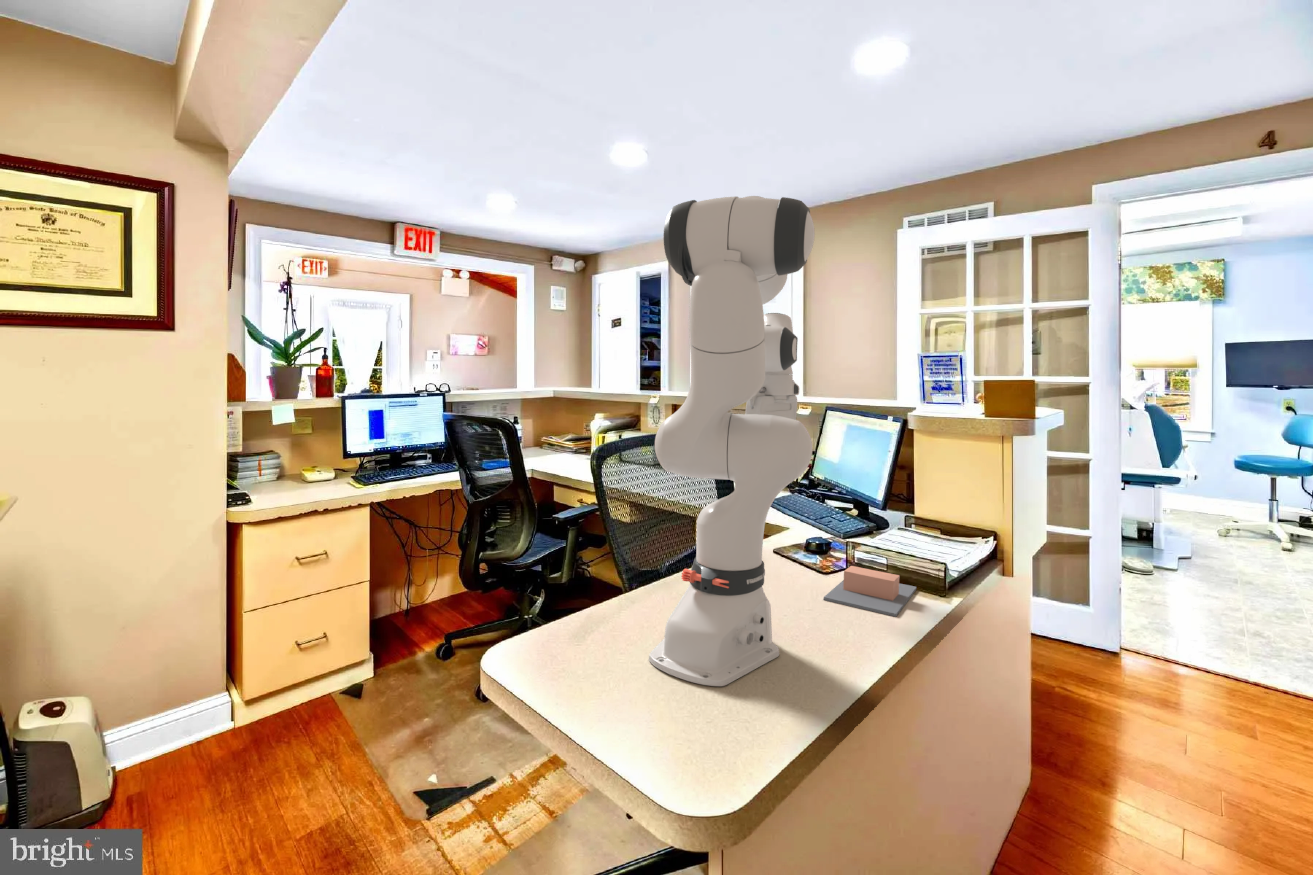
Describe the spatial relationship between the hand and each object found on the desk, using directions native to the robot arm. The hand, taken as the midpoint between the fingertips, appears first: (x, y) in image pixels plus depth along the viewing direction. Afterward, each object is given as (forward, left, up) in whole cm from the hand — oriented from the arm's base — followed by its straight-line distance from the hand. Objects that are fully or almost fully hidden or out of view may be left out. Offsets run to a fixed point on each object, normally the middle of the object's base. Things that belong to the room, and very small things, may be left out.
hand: (770, 447), depth 130 cm
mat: (0, -24, -29) cm, 38 cm away
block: (0, -19, -27) cm, 32 cm away
